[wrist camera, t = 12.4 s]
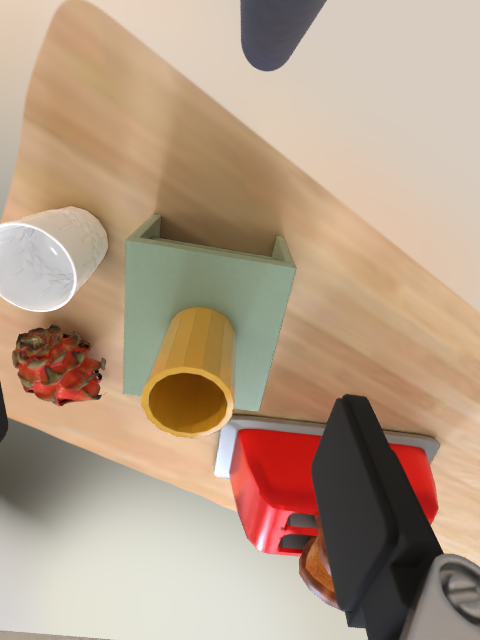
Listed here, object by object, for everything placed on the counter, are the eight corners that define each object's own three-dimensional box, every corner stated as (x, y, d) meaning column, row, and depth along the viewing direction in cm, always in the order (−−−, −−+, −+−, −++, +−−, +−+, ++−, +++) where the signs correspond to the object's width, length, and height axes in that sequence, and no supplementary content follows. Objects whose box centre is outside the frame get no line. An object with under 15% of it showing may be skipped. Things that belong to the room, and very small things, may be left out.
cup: (168, 301, 31) (143, 360, 23) (241, 312, 31) (241, 374, 23) (163, 361, 34) (139, 432, 26) (230, 370, 34) (226, 443, 26)
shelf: (153, 213, 37) (125, 239, 28) (283, 236, 38) (296, 268, 29) (146, 341, 44) (122, 393, 36) (255, 357, 46) (258, 412, 37)
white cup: (118, 273, 40) (83, 314, 31) (48, 270, 40) (-7, 310, 31) (109, 202, 36) (67, 224, 28) (32, 198, 36) (-35, 219, 27)
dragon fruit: (43, 302, 44) (113, 360, 50) (-14, 354, 41) (68, 408, 48) (51, 314, 37) (132, 380, 43) (-16, 376, 34) (79, 437, 41)
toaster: (439, 435, 52) (532, 578, 35) (407, 491, 58) (474, 636, 41) (223, 411, 50) (213, 551, 33) (213, 471, 56) (201, 615, 39)
